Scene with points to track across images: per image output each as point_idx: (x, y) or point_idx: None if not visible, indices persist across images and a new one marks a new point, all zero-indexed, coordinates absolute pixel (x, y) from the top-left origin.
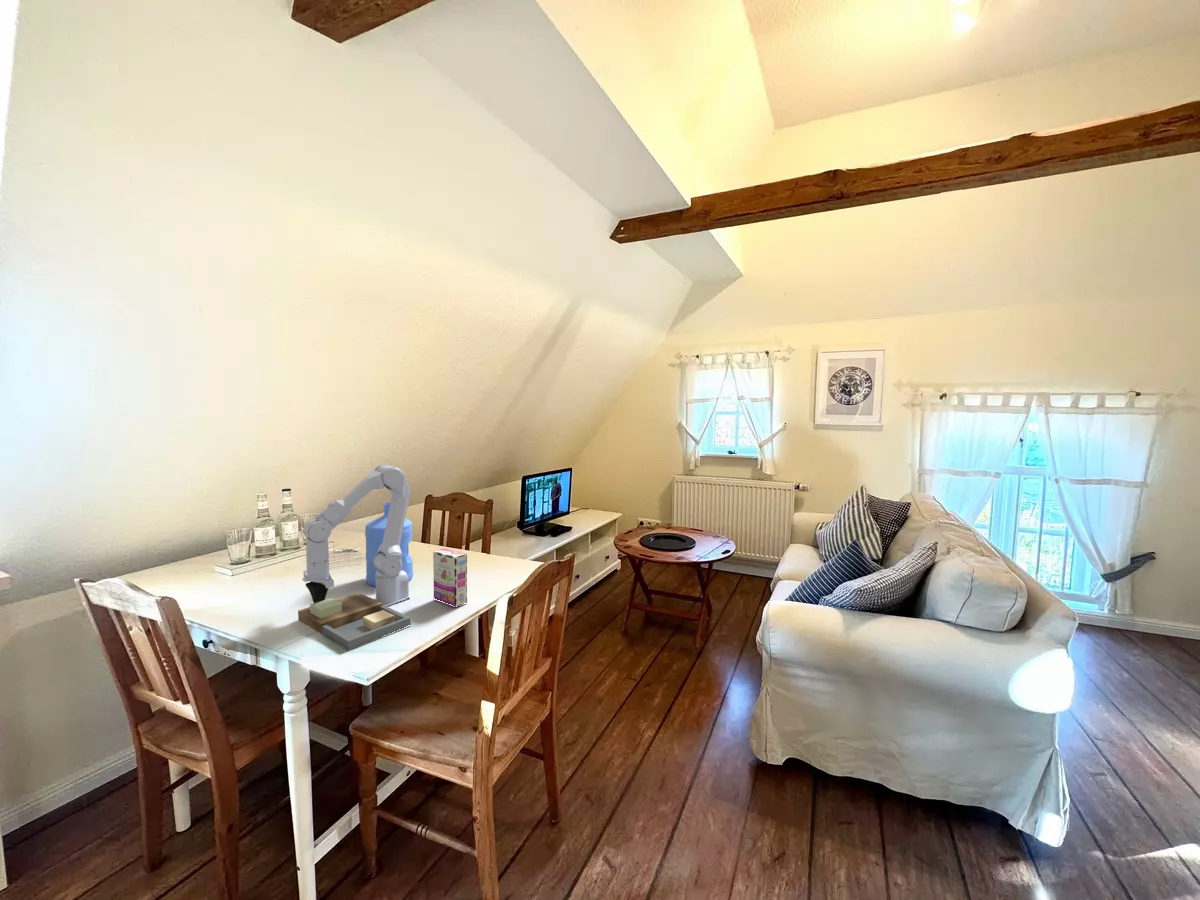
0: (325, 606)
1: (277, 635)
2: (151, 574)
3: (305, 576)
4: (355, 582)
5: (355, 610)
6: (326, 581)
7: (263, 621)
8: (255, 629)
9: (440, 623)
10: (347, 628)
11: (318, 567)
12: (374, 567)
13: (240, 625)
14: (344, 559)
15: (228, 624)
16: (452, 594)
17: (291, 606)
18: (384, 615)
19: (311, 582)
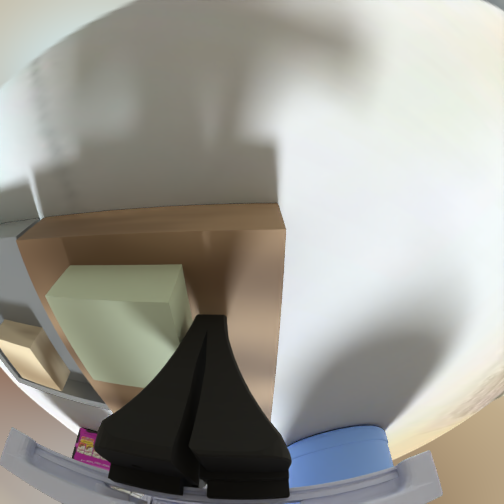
0: (80, 332)
1: (160, 56)
2: None
3: (406, 468)
4: (399, 409)
5: None
6: (5, 468)
7: (416, 94)
8: (347, 18)
9: (27, 386)
10: (35, 292)
11: None
12: (334, 479)
13: (442, 26)
14: (487, 395)
15: (476, 23)
16: (81, 449)
17: (450, 254)
18: (27, 371)
19: (263, 472)
